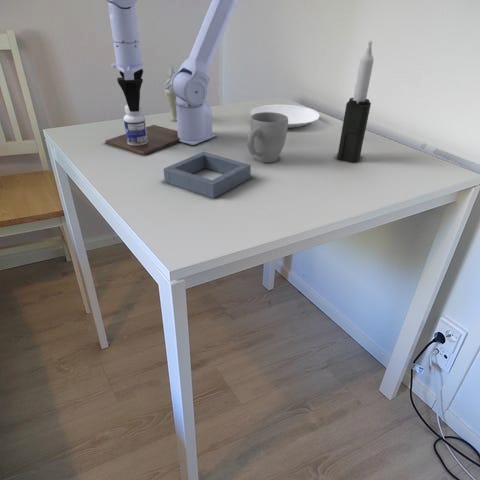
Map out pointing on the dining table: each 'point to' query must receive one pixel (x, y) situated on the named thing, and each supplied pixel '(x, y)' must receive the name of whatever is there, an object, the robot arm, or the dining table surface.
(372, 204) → the dining table surface
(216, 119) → the dining table surface
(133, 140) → the pill bottle
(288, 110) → the plate
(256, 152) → the mug
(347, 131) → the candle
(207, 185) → the square frame
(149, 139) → the board
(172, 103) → the ice cream cone
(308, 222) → the dining table surface
